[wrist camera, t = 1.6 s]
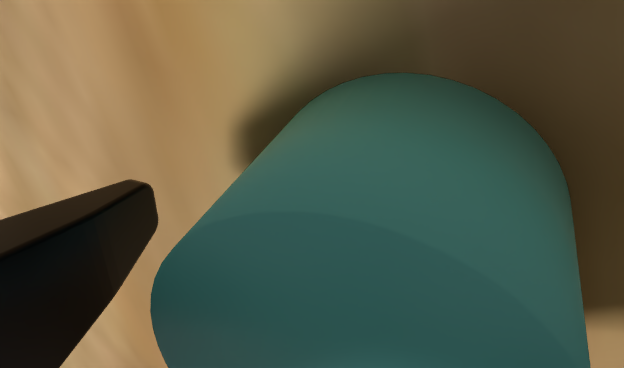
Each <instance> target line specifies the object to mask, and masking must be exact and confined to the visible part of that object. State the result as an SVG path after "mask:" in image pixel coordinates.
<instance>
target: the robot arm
mask: <svg viewBox="0 0 624 368" xmlns="http://www.w3.org/2000/svg"><path fill="white" fill-rule="evenodd" d="M157 225H158V214H157V208H156V203H155V197H154V192H153V189H152V187H151V186H150V185H149V184H147V183H144V182H140V181H136V180H125V181H122V182H119V183H116V184H113V185H109V186H106V187H103V188H100V189H97V190H94V191H90V192H87V193H84V194H81V195H78V196H75V197H71V198H68V199H65V200H62V201H59V202H56V203H52V204H49V205H46V206H43V207H40V208H37V209H33V210H30V211H27V212H24V213H21V214H18V215H14V216H11V217H8V218H5V219H2V220H0V368H59V367H60V366H61V365H62V364H63V362H64V361H65V360H66V358H67V357H68V356H69V355H70V353H71V352H72V351H73V349H74V348H75V347H76V346H77V344H78V343H79V342H80V340H81V339H82V338H83V337H84V335H85V334H86V333H87V331H88V330H89V329H90V328H91V326H92V325H93V324H94V322H95V321H96V320H97V319H98V317H99V316H100V315H101V313H102V312H103V311H104V309H105V308H106V307H107V306H108V304H109V303H110V301H111V300H112V299H113V297H114V296H115V295H116V293H117V292H118V290H119V289H120V287H121V286H122V284H123V282H124V281H125V279H126V278H127V276H128V274H129V273H130V271H131V270H132V268H133V266H134V265H135V263H136V262H137V260H138V258H139V257H140V255H141V254H142V252H143V250H144V249H145V247H146V246H147V244H148V242H149V241H150V239H151V238H152V236H153V234H154V233H155V231H156V229H157Z"/></svg>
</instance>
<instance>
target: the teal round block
mask: <svg viewBox="0 0 624 368" xmlns="http://www.w3.org/2000/svg"><path fill="white" fill-rule="evenodd" d="M151 318H152V325H153V330H154V334H155V337H156V340H157V344H158V347H159V349H160V351H161V353H162V356H163V358H164V360H165V362H166V364H167V366H168V368H590V360H589V351H588V343H587V334H586V326H585V317H584V309H583V300H582V292H581V283H580V275H579V266H578V258H577V250H576V241H575V233H574V224H573V216H572V207H571V200H570V195H569V191H568V186H567V182H566V180H565V177H564V175H563V172H562V170H561V167H560V165H559V163H558V161H557V159H556V158H555V156H554V154H553V153H552V151H551V150H550V148H549V146H548V145H547V144H546V142H545V141H544V140H543V139H542V138H541V136H540V135H539V134H538V133H537V132H536V130H535V129H534V128H533V127H532V126H531V125H530V124H528V123H527V122H526V121H525V120H524V119H523V118H522V117H521V116H520V115H519V114H517V113H516V112H515V111H513V110H512V109H510V108H509V107H507V106H506V105H505V104H503V103H502V102H500V101H499V100H497V99H495V98H493V97H491V96H490V95H488V94H486V93H484V92H482V91H480V90H478V89H476V88H473V87H470V86H468V85H465V84H462V83H459V82H456V81H454V80H450V79H445V78H441V77H436V76H432V75H424V74H414V73H384V74H378V75H372V76H365V77H361V78H358V79H354V80H351V81H348V82H344V83H342V84H340V85H338V86H336V87H333V88H331V89H329V90H327V91H325V92H324V93H322V94H321V95H319V96H318V97H316V98H314V99H313V100H311V101H310V102H309V103H308V104H307V105H306V106H305V107H304V108H302V109H301V110H300V111H299V112H298V113H297V114H296V115H295V116H294V117H293V118H292V120H291V121H290V122H289V123H288V124H287V125H286V126H285V127H284V128H283V129H282V130H281V132H280V133H279V134H278V135H277V136H276V137H275V138H274V139H273V140H272V141H271V142H270V143H269V145H268V146H267V147H266V148H265V149H264V150H263V151H262V152H261V153H260V154H259V155H258V157H257V158H256V159H255V160H254V161H253V162H252V163H251V164H250V165H249V166H248V167H247V168H246V170H245V171H244V172H243V173H242V174H241V175H240V176H239V177H238V178H237V179H236V180H235V182H234V183H233V184H232V185H231V186H230V187H229V188H228V189H227V190H226V191H225V192H224V194H223V195H222V196H221V197H220V198H219V199H218V200H217V201H216V202H215V203H214V204H213V205H212V207H211V208H210V209H209V210H208V211H207V212H206V213H205V214H204V215H203V216H202V217H201V219H200V220H199V221H198V222H197V223H196V224H195V225H194V226H193V227H192V228H191V229H190V230H189V232H188V233H187V234H186V235H185V236H184V237H183V238H182V239H181V240H180V241H179V242H178V244H177V245H176V246H175V247H174V248H173V249H172V250H171V252H170V253H169V254H168V256H167V257H166V258H165V259H164V261H163V262H162V264H161V266H160V268H159V270H158V272H157V274H156V277H155V279H154V284H153V288H152V292H151Z"/></svg>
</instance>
